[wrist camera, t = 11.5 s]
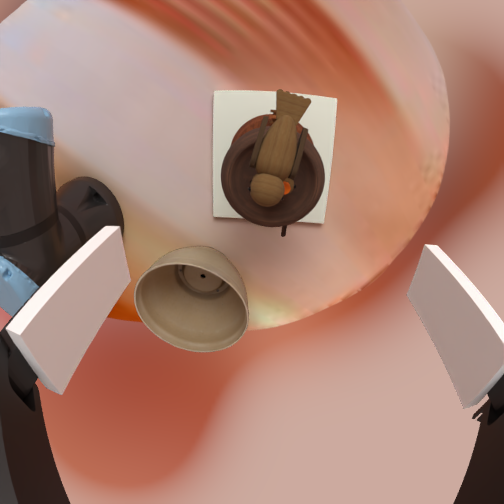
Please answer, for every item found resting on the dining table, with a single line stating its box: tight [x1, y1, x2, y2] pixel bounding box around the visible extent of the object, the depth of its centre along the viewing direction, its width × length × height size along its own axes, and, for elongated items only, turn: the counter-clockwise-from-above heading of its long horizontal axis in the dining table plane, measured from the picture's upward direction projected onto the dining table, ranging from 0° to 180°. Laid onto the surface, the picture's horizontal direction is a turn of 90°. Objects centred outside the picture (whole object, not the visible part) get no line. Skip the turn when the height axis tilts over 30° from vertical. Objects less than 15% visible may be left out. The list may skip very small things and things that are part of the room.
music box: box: [221, 89, 325, 237], centre depth 26 cm, size 15×11×20 cm
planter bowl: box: [134, 246, 249, 352], centre depth 40 cm, size 16×16×11 cm
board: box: [213, 90, 337, 224], centre depth 35 cm, size 16×18×1 cm
